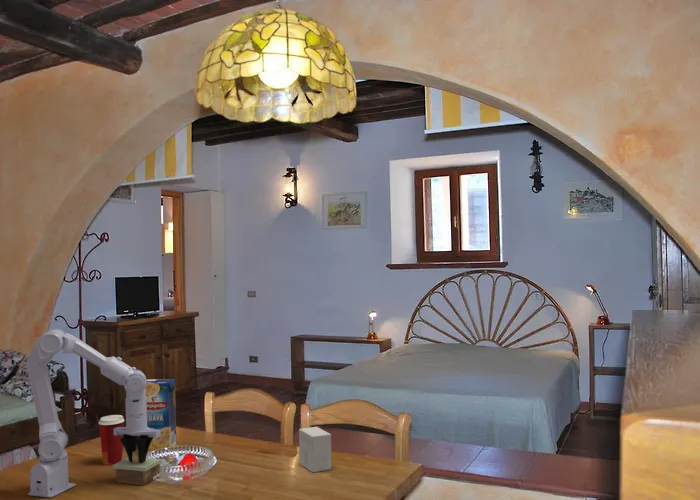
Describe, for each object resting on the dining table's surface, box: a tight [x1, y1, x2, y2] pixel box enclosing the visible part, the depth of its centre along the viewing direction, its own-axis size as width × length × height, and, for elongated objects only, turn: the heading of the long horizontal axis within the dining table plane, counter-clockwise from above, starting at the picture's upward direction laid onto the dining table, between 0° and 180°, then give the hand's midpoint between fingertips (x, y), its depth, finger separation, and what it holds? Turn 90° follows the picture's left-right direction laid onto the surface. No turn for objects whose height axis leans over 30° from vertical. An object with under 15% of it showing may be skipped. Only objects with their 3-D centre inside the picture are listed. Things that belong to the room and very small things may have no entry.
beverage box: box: [137, 378, 178, 450], centre depth 212 cm, size 7×11×22 cm, turn 87°
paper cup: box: [97, 414, 126, 466], centre depth 196 cm, size 8×8×14 cm
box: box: [114, 463, 161, 486], centre depth 180 cm, size 7×10×4 cm
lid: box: [112, 449, 163, 471], centre depth 180 cm, size 8×11×4 cm
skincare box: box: [298, 426, 333, 473], centre depth 187 cm, size 10×6×10 cm, turn 27°
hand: (137, 461), depth 180 cm, fingers closed on lid, 3 cm apart
